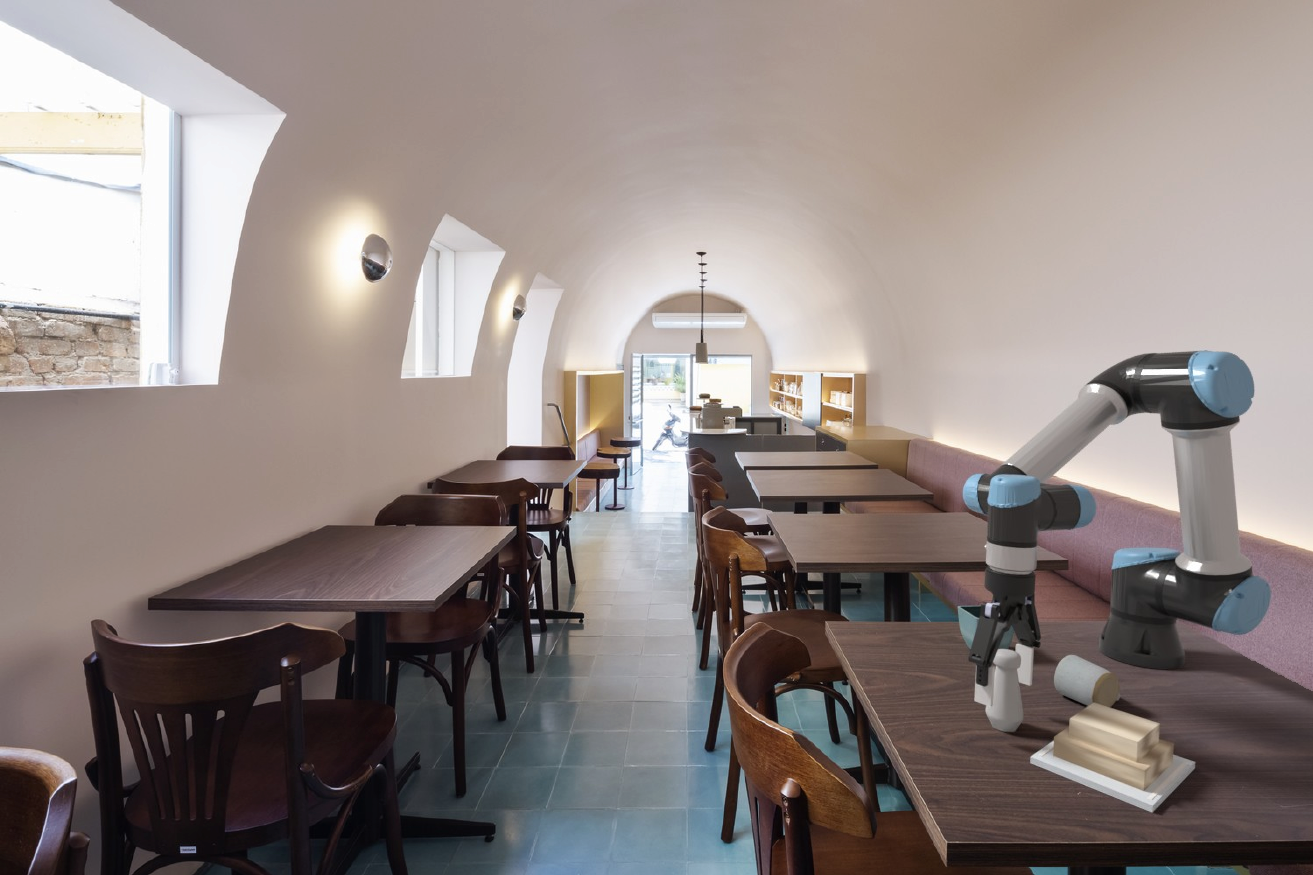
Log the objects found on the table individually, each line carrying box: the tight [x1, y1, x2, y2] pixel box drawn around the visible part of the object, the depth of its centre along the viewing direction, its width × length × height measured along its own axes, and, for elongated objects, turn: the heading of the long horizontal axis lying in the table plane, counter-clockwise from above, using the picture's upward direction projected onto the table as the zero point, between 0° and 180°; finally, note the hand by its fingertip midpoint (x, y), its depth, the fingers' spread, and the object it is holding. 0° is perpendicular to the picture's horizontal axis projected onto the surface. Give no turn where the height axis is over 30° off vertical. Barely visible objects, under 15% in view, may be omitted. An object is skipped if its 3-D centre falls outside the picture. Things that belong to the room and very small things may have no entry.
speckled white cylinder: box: [1053, 654, 1122, 708], centre depth 130 cm, size 11×8×8 cm
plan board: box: [1029, 740, 1196, 813], centre depth 108 cm, size 18×16×1 cm
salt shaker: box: [985, 648, 1025, 733], centre depth 120 cm, size 6×6×13 cm
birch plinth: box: [1053, 703, 1175, 791], centre depth 108 cm, size 12×12×6 cm
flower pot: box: [957, 605, 1015, 650], centre depth 153 cm, size 9×9×9 cm
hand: (1003, 692), depth 120 cm, fingers open, 13 cm apart
